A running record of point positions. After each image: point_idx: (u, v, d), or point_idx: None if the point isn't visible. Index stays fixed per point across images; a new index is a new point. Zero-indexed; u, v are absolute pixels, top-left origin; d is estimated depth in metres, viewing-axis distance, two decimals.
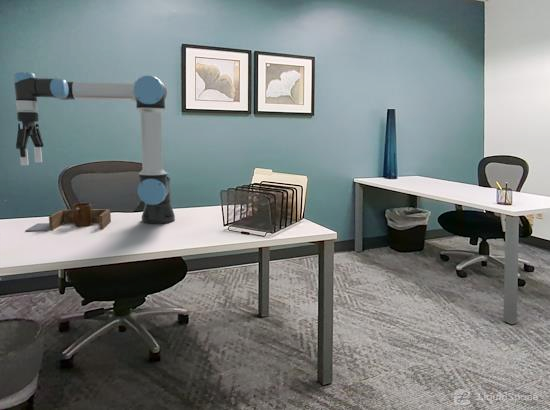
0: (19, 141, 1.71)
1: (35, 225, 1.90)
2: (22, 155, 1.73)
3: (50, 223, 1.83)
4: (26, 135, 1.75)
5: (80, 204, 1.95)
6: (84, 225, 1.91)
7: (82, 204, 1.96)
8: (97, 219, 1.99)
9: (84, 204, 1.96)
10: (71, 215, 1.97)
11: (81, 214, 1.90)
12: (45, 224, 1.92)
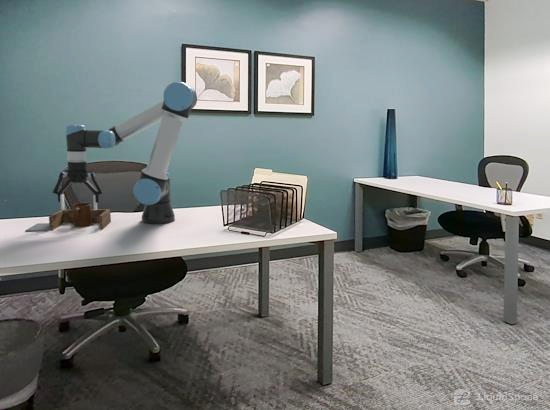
0: None
1: (35, 225, 1.90)
2: None
3: (50, 223, 1.83)
4: (66, 183, 1.87)
5: (80, 204, 1.95)
6: (84, 225, 1.91)
7: (82, 204, 1.96)
8: (97, 219, 1.99)
9: (84, 204, 1.96)
10: (71, 215, 1.97)
11: (81, 214, 1.90)
12: (45, 224, 1.92)
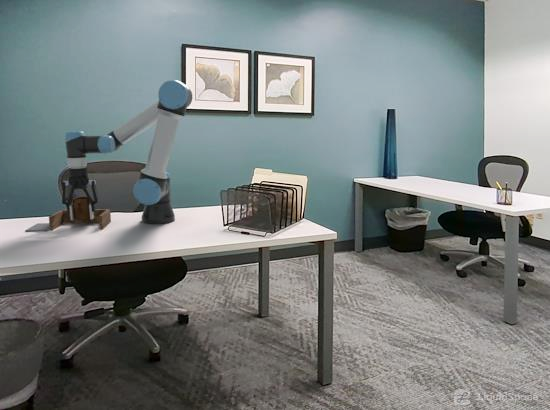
0: None
1: (35, 225, 1.90)
2: None
3: (50, 223, 1.83)
4: None
5: (80, 198, 1.95)
6: (84, 218, 1.91)
7: (82, 198, 1.95)
8: (97, 219, 1.99)
9: (84, 198, 1.95)
10: None
11: (81, 207, 1.89)
12: (45, 224, 1.92)
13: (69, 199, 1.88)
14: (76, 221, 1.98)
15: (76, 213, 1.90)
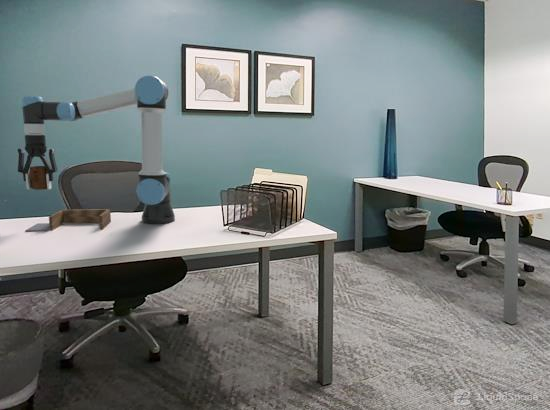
0: None
1: (35, 225, 1.90)
2: None
3: (50, 223, 1.83)
4: None
5: (38, 167, 1.88)
6: (41, 188, 1.84)
7: (41, 167, 1.89)
8: (97, 219, 1.99)
9: (43, 167, 1.89)
10: (71, 215, 1.97)
11: (38, 176, 1.83)
12: (45, 224, 1.92)
13: (25, 167, 1.81)
14: (76, 221, 1.98)
15: (32, 182, 1.83)
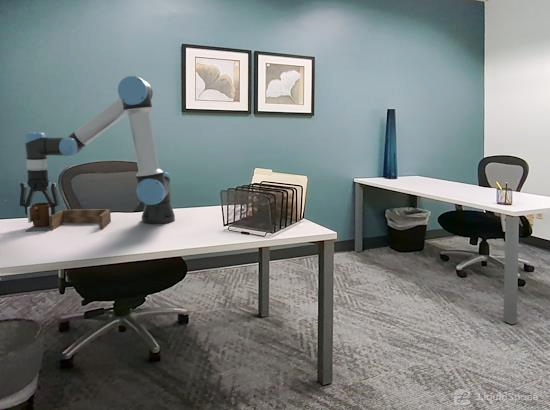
0: None
1: None
2: None
3: (50, 223, 1.83)
4: None
5: (41, 203, 1.91)
6: (43, 225, 1.87)
7: (43, 204, 1.92)
8: (97, 219, 1.99)
9: (45, 204, 1.92)
10: (71, 215, 1.97)
11: (40, 214, 1.85)
12: None
13: (27, 201, 1.84)
14: (76, 221, 1.98)
15: (34, 219, 1.86)
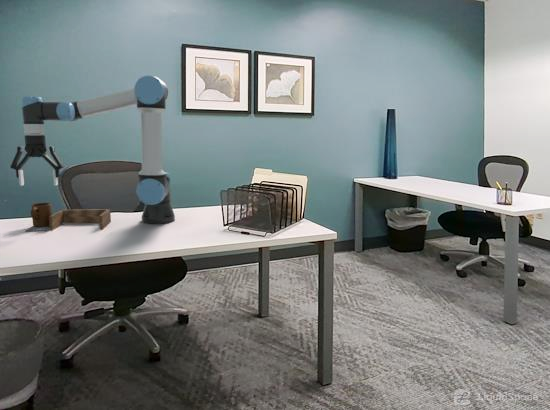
0: None
1: None
2: None
3: (50, 223, 1.83)
4: None
5: (40, 204, 1.91)
6: (43, 225, 1.87)
7: (42, 204, 1.91)
8: (97, 219, 1.99)
9: (44, 204, 1.92)
10: (71, 215, 1.97)
11: (39, 214, 1.85)
12: None
13: (20, 164, 1.81)
14: (76, 221, 1.98)
15: (34, 220, 1.86)
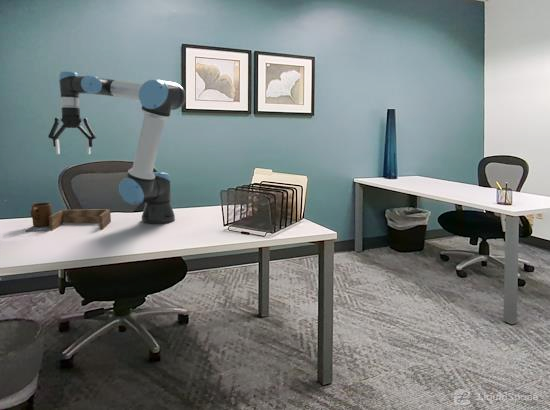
0: None
1: None
2: None
3: (50, 223, 1.83)
4: None
5: (40, 204, 1.91)
6: (43, 225, 1.87)
7: (42, 204, 1.91)
8: (97, 219, 1.99)
9: (44, 204, 1.92)
10: (71, 215, 1.97)
11: (39, 214, 1.85)
12: None
13: (56, 134, 1.98)
14: (76, 221, 1.98)
15: (34, 220, 1.86)
